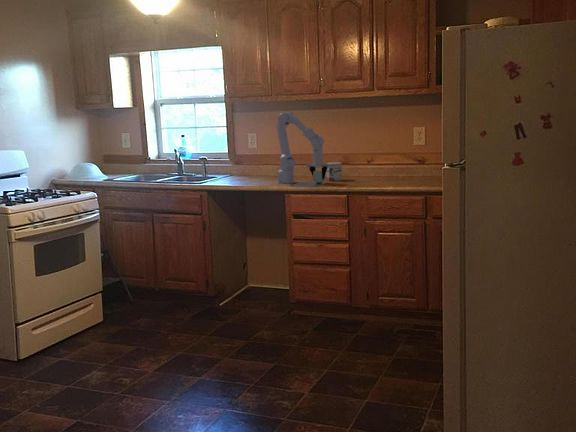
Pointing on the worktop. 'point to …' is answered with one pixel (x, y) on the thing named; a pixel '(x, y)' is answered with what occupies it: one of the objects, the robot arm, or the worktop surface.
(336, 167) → the ink box
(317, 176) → the pale green cube
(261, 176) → the worktop surface
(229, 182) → the worktop surface
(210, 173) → the worktop surface
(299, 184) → the board
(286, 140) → the robot arm
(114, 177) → the worktop surface
